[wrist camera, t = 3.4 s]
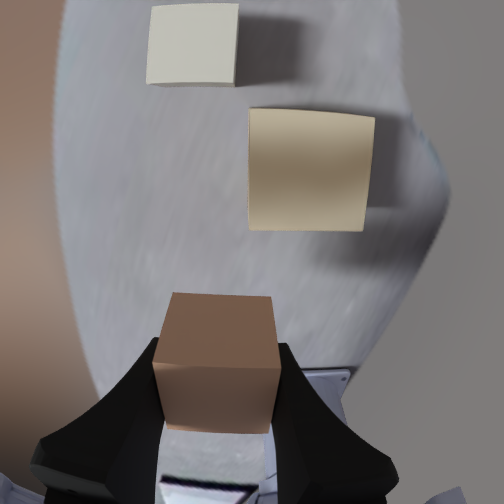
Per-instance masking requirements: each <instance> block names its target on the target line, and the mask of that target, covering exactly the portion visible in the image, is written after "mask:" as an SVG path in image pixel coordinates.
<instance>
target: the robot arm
mask: <svg viewBox="0 0 504 504" xmlns="http://www.w3.org/2000/svg"><path fill="white" fill-rule="evenodd" d="M158 341H159V337H154V338H153V339H152V340H151V342H150V343H149V345H148V346H147V347H146V349H145V350H144V352H143V353H142V354H141V356H140V357H139V358H138V360H137V361H136V362H135V363H134V365H133V366H132V367H131V368H130V370H129V371H128V372H127V373H126V374H125V376H124V377H123V378H122V379H121V380H120V381H119V382H118V383H117V384H116V385H115V387H114V388H113V389H112V390H111V391H110V392H109V393H108V394H107V395H105V396H104V397H103V398H102V399H101V400H100V401H99V402H98V403H97V404H95V405H94V406H93V407H92V408H90V409H89V410H88V411H87V412H85V413H84V414H83V415H81V416H80V417H78V418H77V419H75V420H74V421H72V422H71V423H69V424H68V425H67V426H65V427H63V428H61V429H59V430H58V431H56V432H54V433H52V434H50V435H48V436H46V437H44V438H42V439H40V441H39V443H38V445H37V446H36V449H35V451H34V454H33V456H32V459H31V462H30V465H29V468H30V470H31V472H32V473H33V474H34V475H35V476H36V477H37V478H38V479H39V480H40V481H41V482H42V483H43V484H44V485H45V486H46V487H47V488H48V489H47V492H46V495H45V497H43V496H41V495H39V494H36V493H34V492H31V491H29V490H26V489H24V488H22V487H20V486H18V485H15V484H13V483H12V482H11V481H10V480H9V479H8V478H7V477H6V476H4V475H3V474H1V473H0V504H155V485H156V472H157V461H158V451H159V444H160V438H161V434H162V430H163V425H164V421H165V417H164V413H163V408H162V404H161V400H160V396H159V391H158V387H157V382H156V377H155V373H154V368H153V363H152V362H153V358H154V355H155V351H156V348H157V344H158ZM278 348H279V355H280V362H281V373H280V378H279V383H278V389H277V394H276V399H275V404H274V409H273V414H272V419H271V424H270V429H269V434H263V439H264V454H265V469H266V480H263V481H259V492H257V493H254V494H252V495H251V497H250V498H249V500H248V502H247V503H246V504H387V501H386V497H385V495H386V494H388V493H389V492H390V491H391V490H392V489H393V488H394V487H395V486H396V485H397V483H398V482H399V477H398V474H397V471H396V468H395V466H394V464H393V462H392V460H391V458H390V457H388V456H387V455H385V454H383V453H382V452H380V451H379V450H377V449H375V448H374V447H372V446H371V445H370V444H368V443H367V442H366V441H364V440H363V439H362V438H360V437H359V436H358V435H357V434H356V433H354V432H353V431H352V430H351V429H350V428H349V427H348V426H347V422H346V418H345V415H344V411H343V408H342V404H341V400H340V399H341V397H342V394H343V392H344V390H345V387H346V385H347V382H348V380H349V377H350V374H351V373H350V371H349V370H348V369H335V370H311V371H302V370H301V368H300V367H299V365H298V363H297V361H296V360H295V358H294V356H293V354H292V352H291V350H290V348H289V346H288V344H287V343H278ZM425 504H467V503H466V501H465V498H464V495H463V493H462V490H461V487H459V486H458V487H456V488H453V489H451V490H448V491H446V492H443V493H440V494H438V495H436V496H434V497H432V498H431V499H429V500H428V501H427V502H426V503H425Z"/></svg>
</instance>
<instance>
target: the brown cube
mask: <svg viewBox="0 0 504 504" xmlns="http://www.w3.org/2000/svg"><path fill="white" fill-rule="evenodd" d="M152 363H153V368H154V373H155V377H156V382H157V387H158V391H159V396H160V400H161V404H162V408H163V413H164V417H165V421H166V425H167V428H168V429H173V430H184V431H196V432H212V433H238V434H269V429H270V424H271V419H272V414H273V409H274V404H275V399H276V394H277V389H278V383H279V378H280V373H281V362H280V355H279V348H278V341H277V334H276V327H275V320H274V314H273V307H272V300H271V297H266V296H236V295H212V294H192V293H174V292H173V294H172V297H171V300H170V304H169V307H168V310H167V313H166V317H165V320H164V323H163V327H162V330H161V334H160V337H159V341H158V344H157V348H156V351H155V355H154V358H153V362H152Z"/></svg>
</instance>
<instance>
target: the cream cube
mask: <svg viewBox="0 0 504 504" xmlns="http://www.w3.org/2000/svg"><path fill="white" fill-rule="evenodd" d="M238 34H239V4H229V3H202V4H178V5H164V6H153V7H152V12H151V21H150V32H149V43H148V57H147V74H146V84H150V85H155V86H161V87H235V78H236V62H237V48H238Z"/></svg>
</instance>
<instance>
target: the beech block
mask: <svg viewBox="0 0 504 504" xmlns="http://www.w3.org/2000/svg"><path fill="white" fill-rule="evenodd" d="M374 128H375V118H374V117H368V116H362V115H355V114H348V113H338V112H328V111H315V110H301V109H281V108H249V120H248V222H249V230H269V231H363V226H364V219H365V212H366V205H367V197H368V189H369V181H370V172H371V162H372V152H373V141H374Z"/></svg>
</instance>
